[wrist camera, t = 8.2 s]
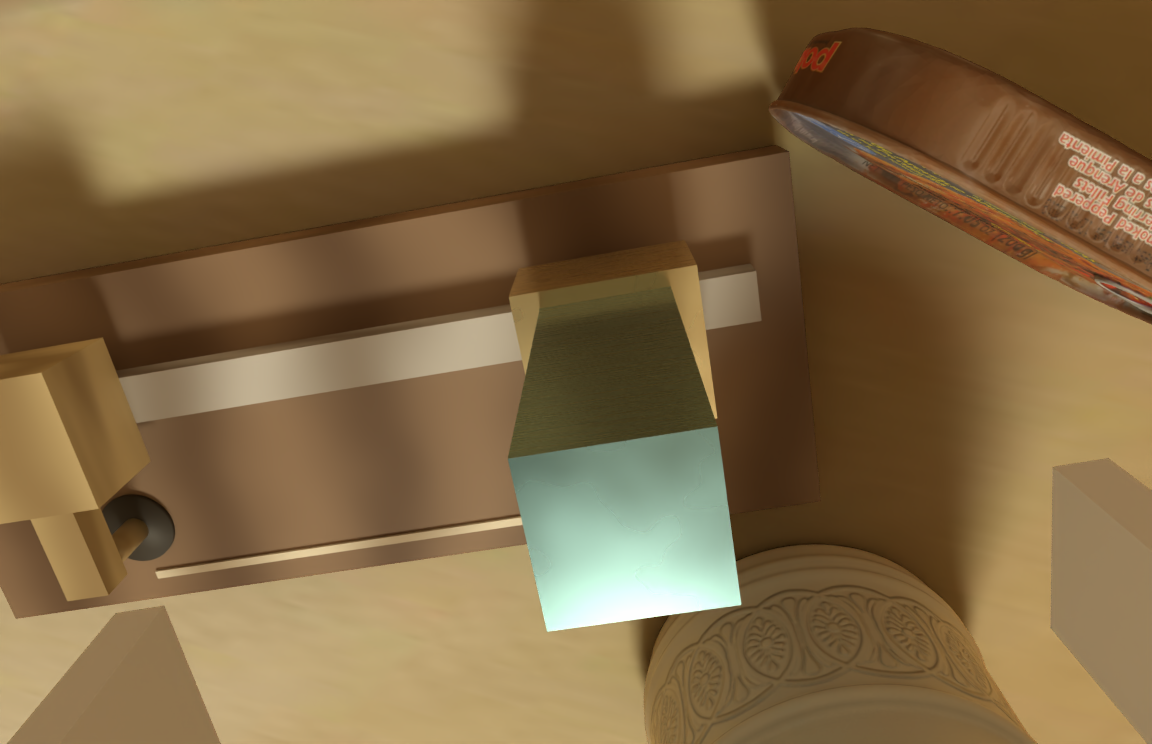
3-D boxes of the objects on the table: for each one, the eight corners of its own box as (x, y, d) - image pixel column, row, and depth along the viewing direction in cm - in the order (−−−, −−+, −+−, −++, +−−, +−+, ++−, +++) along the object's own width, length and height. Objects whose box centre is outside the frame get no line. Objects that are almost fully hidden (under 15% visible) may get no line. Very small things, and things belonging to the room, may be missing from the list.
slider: (565, 482, 29) (545, 793, 17) (520, 262, 26) (457, 441, 14) (712, 460, 28) (801, 762, 16) (681, 234, 26) (761, 393, 14)
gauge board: (47, 587, 34) (-66, 697, 28) (-85, 299, 30) (-250, 358, 24) (807, 474, 31) (855, 569, 26) (775, 145, 27) (824, 169, 22)
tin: (741, 109, 27) (802, 130, 19) (794, 13, 26) (881, -6, 18) (1119, 316, 29) (1314, 413, 21) (1181, 236, 28) (1410, 305, 20)
